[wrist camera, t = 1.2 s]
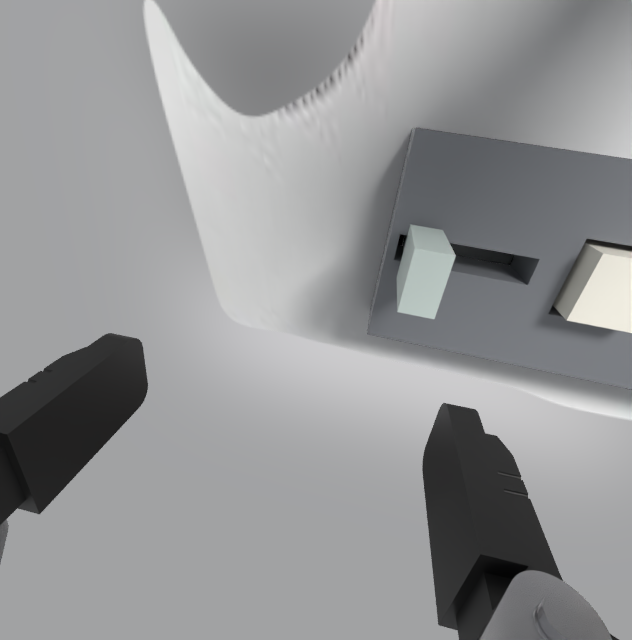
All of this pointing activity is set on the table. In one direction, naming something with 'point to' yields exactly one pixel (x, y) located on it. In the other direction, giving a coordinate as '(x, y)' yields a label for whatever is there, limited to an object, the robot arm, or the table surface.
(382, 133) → the table surface
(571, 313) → the cream button
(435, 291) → the pale green rectangular block
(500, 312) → the switch panel
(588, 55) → the table surface
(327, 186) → the table surface
